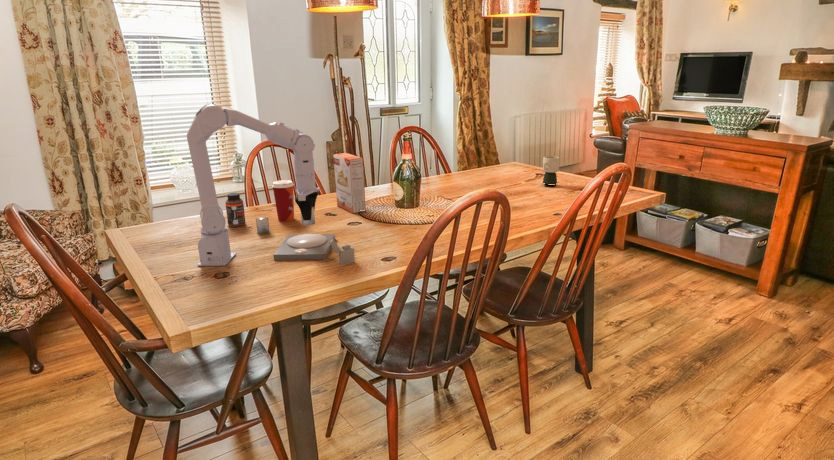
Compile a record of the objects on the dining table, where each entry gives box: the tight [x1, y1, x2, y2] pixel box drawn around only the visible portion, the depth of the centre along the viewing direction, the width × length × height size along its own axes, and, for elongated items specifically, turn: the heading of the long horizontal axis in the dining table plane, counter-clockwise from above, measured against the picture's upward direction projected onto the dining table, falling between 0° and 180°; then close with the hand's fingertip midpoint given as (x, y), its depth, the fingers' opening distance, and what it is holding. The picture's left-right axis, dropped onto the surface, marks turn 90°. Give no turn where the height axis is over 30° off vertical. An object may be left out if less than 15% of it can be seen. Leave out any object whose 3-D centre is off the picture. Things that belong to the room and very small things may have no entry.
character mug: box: [542, 155, 561, 184], centre depth 231 cm, size 11×7×13 cm, turn 133°
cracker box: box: [333, 152, 367, 214], centre depth 199 cm, size 14×6×21 cm, turn 33°
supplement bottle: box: [225, 192, 246, 228], centre depth 182 cm, size 6×6×11 cm
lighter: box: [328, 239, 356, 266], centre depth 145 cm, size 7×2×8 cm, turn 124°
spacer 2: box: [300, 206, 316, 226], centre depth 159 cm, size 4×4×5 cm
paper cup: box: [271, 179, 295, 223], centre depth 188 cm, size 8×8×14 cm
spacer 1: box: [255, 216, 270, 235], centre depth 175 cm, size 4×4×5 cm
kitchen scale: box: [272, 233, 336, 261], centre depth 159 cm, size 18×15×2 cm
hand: (308, 217), depth 159 cm, fingers closed on spacer 2, 4 cm apart
